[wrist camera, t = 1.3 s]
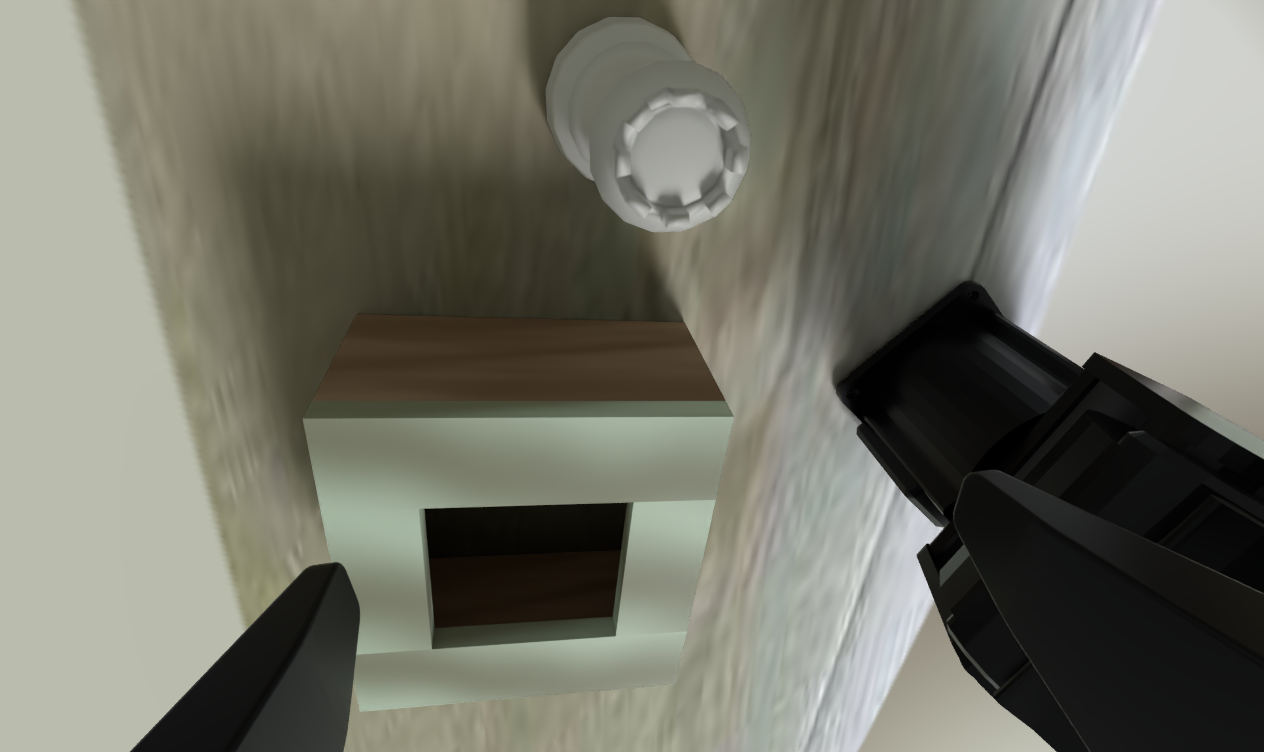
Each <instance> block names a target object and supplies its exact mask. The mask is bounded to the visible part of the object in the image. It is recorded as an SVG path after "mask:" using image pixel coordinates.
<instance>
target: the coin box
mask: <svg viewBox="0 0 1264 752" xmlns="http://www.w3.org/2000/svg"><path fill="white" fill-rule="evenodd" d="M733 419H734V416H733V414H732V412H731V410H730V408H729V406H728V405H727V403H726V401H725V399H724V397H723V395H722V393H721V391H720V389H719V387H718V385H717V383H716V382H715V380H714V378H713V376H712V374H711V372H710V370H709V368H708V366H707V364H706V362H705V361H704V359H703V357H702V355H701V353H700V351H699V349H698V347H697V345H696V343H695V341H694V339H693V338H692V336H691V334H690V332H689V330H688V328H687V326H686V324H685V322H655V321H615V320H574V319H534V318H494V317H453V316H413V315H373V314H357V315H356V316H355V318H354V320H353V322H352V324H351V326H350V328H349V330H348V332H347V334H346V336H345V338H344V340H343V342H342V343H341V345H340V347H339V349H338V351H337V353H336V355H335V357H334V359H333V361H332V363H331V365H330V367H329V369H328V370H327V372H326V374H325V376H324V378H323V380H322V382H321V384H320V386H319V388H318V390H317V392H316V394H315V396H314V397H313V399H312V401H311V403H310V405H309V407H308V409H307V411H306V413H305V415H304V417H303V424H304V429H305V434H306V439H307V444H308V449H309V454H310V459H311V464H312V469H313V475H314V480H315V485H316V490H317V495H318V500H319V505H320V510H321V515H322V520H323V525H324V530H325V536H326V541H327V546H328V551H329V556H330V561H331V563H333V562H339V563H341V564H342V565H343V566H344V567H345V569H346V571H347V574H348V576H349V579H350V581H351V584H352V586H353V589H354V591H355V594H356V596H357V599H358V602H359V606H360V625H359V634H358V643H357V652H356V661H355V670H354V683H355V688H356V693H357V698H358V703H359V708H360V712H363V711H374V710H386V709H397V708H409V707H421V706H432V705H444V704H455V703H467V702H478V701H490V700H501V699H513V698H525V697H536V696H548V695H559V694H571V693H582V692H594V691H605V690H617V689H629V688H640V687H652V686H663V685H675V682H676V678H677V673H678V669H679V664H680V660H681V655H682V651H683V646H684V642H685V637H686V632H687V628H688V623H689V619H690V614H691V610H692V605H693V601H694V596H695V591H696V587H697V582H698V578H699V573H700V569H701V564H702V560H703V555H704V551H705V546H706V541H707V537H708V532H709V528H710V523H711V519H712V514H713V510H714V505H715V501H716V496H717V491H718V487H719V482H720V478H721V473H722V469H723V464H724V460H725V455H726V451H727V446H728V441H729V437H730V432H731V428H732V423H733ZM626 502H627V508H626V516H625V524H624V532H623V540H622V547H621V550H613V551H590V552H568V553H546V554H523V555H501V556H478V557H456V558H433V559H429V557H428V546H427V534H426V523H425V511H424V509H427V508H460V507H494V506H527V505H560V504H593V503H626Z"/></svg>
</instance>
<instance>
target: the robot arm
mask: <svg viewBox="0 0 1264 752" xmlns="http://www.w3.org/2000/svg"><path fill="white" fill-rule="evenodd" d="M970 292H972V294H971V295H970V297H969V298H967V299H966V297H967V295H968V294H969V293H970ZM1082 367H1083V368H1084V369H1083V368H1081V367H1080V366H1078V365H1077V364H1075V363H1074V362H1072V361H1071V360H1069V359H1068V358H1066V357H1064V356H1063V355H1061V354H1060V353H1058V352H1057V351H1055V350H1054V349H1052V348H1050V347H1049V346H1047V345H1046V344H1044V343H1043V342H1041V341H1040V340H1038V339H1037V338H1035V337H1033V336H1032V335H1030V334H1029V333H1027V332H1026V331H1024V330H1023V329H1021V328H1020V327H1018V326H1016V325H1015V324H1013V323H1012V322H1010V321H1009V320H1007V319H1006V318H1004V316H1003V315H1002V313H1001V312H1000V310H999V309H998V307H997V306H996V305H995V303H994V302H993V300H992V299H991V297H990V296H989V294H988V293H987V291H986V290H985V288H984V287H982V286H981V285H980V284H978V283H976V282H975V281H965V282H963V283H962V284H960V285H959V286H958V287H956V288H955V289H954V290H953V291H952V292H950V293H949V294H948V295H947V296H945V297H944V298H943V299H942V300H941V301H939V302H938V303H937V304H936V305H934V306H933V307H932V308H931V309H930V310H928V311H927V312H926V313H925V314H923V315H922V316H921V317H920V318H919V319H917V320H916V321H915V322H914V323H912V324H911V325H910V326H909V327H908V328H906V329H905V330H904V331H903V332H901V333H900V334H899V335H898V336H897V337H895V338H894V339H893V340H892V341H890V342H889V343H888V344H887V345H886V346H884V347H883V348H882V349H881V350H879V351H878V352H877V353H876V354H875V355H873V356H872V357H871V358H870V359H868V360H867V361H866V362H865V363H864V364H862V365H861V366H860V367H859V368H857V369H856V370H855V371H854V372H853V373H851V374H850V375H849V376H848V377H846V378H845V379H844V380H843V381H842V382H841V383H840V384H839V385H838V387H837V389H836V394H837V396H838V397H839V399H840V400H841V401H842V402H843V403H844V404H845V405H846V406H847V407H848V408H849V409H850V410H851V411H852V412H853V413H854V414H855V415H856V416H857V418H858V419H859V420H860V421H861V422H862V424H861V425H859V426H858V427H857V435H858V437H859V438H860V439H861V440H862V442H863V443H864V444H865V446H866V447H867V448H868V449H869V451H870V452H871V453H872V454H873V456H874V457H875V458H876V460H877V461H878V462H879V463H880V465H881V466H882V467H883V468H884V470H885V471H886V472H887V474H888V475H889V476H890V477H891V479H892V480H893V481H894V482H895V484H896V485H897V486H898V488H899V489H900V490H901V491H902V493H903V494H904V495H905V496H906V497H907V498H908V499H909V500H910V501H911V502H912V503H913V504H914V505H915V506H916V507H917V508H918V509H919V510H920V511H921V512H922V513H923V514H924V515H925V516H926V517H927V518H928V519H929V520H930V521H931V522H932V523H933V524H934V525H935V526H938V527H944V529H943V530H942V531H941V532H940V533H939V534H938V536H937V537H936V538H935V539H934V540H933V541H932V542H931V543H930V544H926V545H925V546H924V547H923V548H922V549H921V550H920V552H919V553H918V554H917V558H918V561H919V563H920V566H921V568H922V571H923V573H924V576H925V578H926V581H927V583H928V586H929V588H930V591H931V593H932V596H933V598H934V601H935V603H936V606H937V608H938V611H939V613H940V615H941V618H942V621H943V623H944V626H945V628H946V631H947V633H948V636H949V638H950V641H951V643H952V645H953V647H954V649H955V651H956V653H957V655H958V657H959V659H960V661H961V663H962V665H963V667H964V669H965V670H966V671H967V672H968V673H969V674H970V675H971V676H973V677H974V678H975V679H976V680H977V682H978V683H979V684H980V685H981V686H982V687H983V688H984V689H985V690H986V691H987V692H988V693H989V694H990V695H991V696H992V697H993V698H994V699H995V700H996V701H997V702H998V703H999V704H1000V705H1001V706H1003V707H1004V708H1005V709H1006V710H1008V711H1009V712H1010V713H1012V714H1013V715H1014V716H1016V717H1017V718H1018V719H1019V720H1021V721H1022V722H1023V723H1025V724H1026V725H1027V726H1029V727H1030V728H1031V729H1033V730H1034V731H1035V732H1036V733H1037V734H1038V735H1039V736H1040V737H1041V738H1042V739H1043V740H1045V741H1046V742H1047V743H1048V744H1049V745H1050V746H1051V747H1052V748H1053V749H1054V750H1055V751H1056V752H1264V440H1263V439H1261V438H1259V437H1258V436H1256V435H1254V434H1253V433H1251V432H1249V431H1247V430H1246V429H1244V428H1242V427H1240V426H1239V425H1237V424H1235V423H1233V422H1232V421H1230V420H1228V419H1226V418H1224V417H1223V416H1221V415H1219V414H1217V413H1216V412H1214V411H1212V410H1210V409H1209V408H1207V407H1205V406H1203V405H1202V404H1200V403H1198V402H1196V401H1194V400H1193V399H1191V398H1189V397H1187V396H1185V395H1183V394H1181V393H1179V392H1177V391H1175V390H1173V389H1171V388H1169V387H1167V386H1165V385H1163V384H1160V383H1158V382H1156V381H1154V380H1152V379H1150V378H1148V377H1146V376H1143V375H1141V374H1140V373H1137V372H1135V371H1133V370H1131V369H1129V368H1127V367H1125V366H1123V365H1121V364H1119V363H1117V362H1114V361H1112V360H1110V359H1108V358H1106V357H1104V356H1102V355H1100V354H1098V353H1096V352H1094V353H1093V354H1092V356H1091V357H1090V358H1089V359H1088V360H1087V361H1086V362H1085V364H1084V365H1083V366H1082ZM851 389H854V390H853V391H852V392H851V393H849V394H847V392H848V391H849V390H851ZM359 625H360V606H359V602H358V599H357V596H356V594H355V591H354V589H353V586H352V584H351V581H350V579H349V576H348V574H347V571H346V569H345V567H344V566H343V565H342V564H341V563H339V562H333V563H325V564H318V565H312V566H309V567H308V568H306V569H305V570H304V571H303V572H302V573H301V574H300V575H299V576H298V577H297V578H296V579H295V580H294V581H293V582H292V583H291V584H290V585H289V586H288V587H287V588H286V589H285V590H284V591H283V592H282V593H281V595H280V596H279V597H278V598H277V599H276V600H275V601H274V602H273V603H272V604H271V605H270V606H269V607H268V608H267V609H266V610H265V611H264V612H263V613H262V614H261V615H260V616H259V617H258V619H257V620H256V621H255V622H254V623H253V624H252V625H251V626H250V627H249V628H248V629H247V630H246V631H245V632H244V633H243V634H242V635H241V636H240V637H239V638H238V639H237V640H236V642H235V643H234V644H233V645H232V646H231V647H230V648H229V649H228V650H227V651H226V652H225V653H224V654H223V655H222V656H221V657H220V658H219V659H218V660H217V661H216V662H215V663H214V664H213V666H212V667H211V668H210V669H209V670H208V671H207V672H206V673H205V674H204V675H203V676H202V677H201V678H200V679H199V680H198V681H197V682H196V683H195V684H194V685H193V686H192V687H191V688H190V690H189V691H188V692H187V693H186V694H185V695H184V696H183V697H182V698H181V699H180V700H179V701H178V702H177V703H176V704H175V705H174V706H173V707H172V708H171V709H170V710H169V712H168V713H167V714H166V715H165V716H164V717H163V718H162V719H161V720H160V721H159V722H158V723H157V724H156V725H155V726H154V727H153V728H152V729H151V730H150V731H149V733H147V734H146V735H145V736H144V738H143V739H142V740H141V741H140V742H139V743H138V744H137V745H136V746H135V747H134V748H133V749H132V750H131V751H130V752H343V751H344V746H345V741H346V736H347V730H348V722H349V715H350V706H351V697H352V688H353V679H354V670H355V661H356V652H357V643H358V634H359Z"/></svg>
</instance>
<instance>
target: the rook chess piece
mask: <svg viewBox="0 0 1264 752" xmlns="http://www.w3.org/2000/svg"><path fill="white" fill-rule="evenodd" d="M546 108H547V123H548V125H549V128H550V130H551V132H552V134H553V137H554V139H555V141H556V143H557V146H558V148H559V150H560V152H561V153H562V154H563V155H564V157H565V158H566V159H567V160H568V161H569V162H570V163H571V164H572V165H573V166H574V167H575V168H576V169H577V170H578V171H579V172H580V173H581V174H582V175H583V176H584V177H585V178H587V179H590V180H592V181H595V183H596V186H597V188H598V190H599V193H600V195H601V197H602V200H603V201H604V202H605V203H606V204H607V205H608V206H609V207H610V208H611V209H612V210H613V211H614V212H615V213H616V214H617V215H618V216H619V217H620V218H621V219H622V220H623V221H625V222H627V223H629V224H632V225H635V226H637V227H640V228H642V229H645V230H648V231H650V232H676V231H684V230H687V229H689V228H691V227H693V226H696V225H698V224H700V223H702V222H705V221H707V220H709V219H711V218H712V217H714V218H715V217H716V216H717V215H718V214H719V213H720V212H721V211H722V210H723V209H724V208H725V207H726V206H727V205H728V204H729V203H730V202H731V201H732V200H733V197H734V194H735V192H736V190H737V188H738V186H739V184H740V182H741V180H742V178H743V176H744V175H745V174H746V170H747V168H748V161H749V152H750V142H751V130H750V127H749V123H748V119H747V116H746V112H745V108H744V105H743V101H742V100H741V99H740V97H739V96H738V95H737V94H736V92H735V91H734V90H733V89H732V87H731V86H730V85H729V84H728V82H727V81H726V80H725V79H724V77H723V76H722V75H720V74H718V73H716V72H714V71H712V70H710V69H708V68H706V67H704V66H702V65H700V64H698V63H696V62H695V61H694V60H693V58H692V57H691V56H690V55H689V54H688V52H687V51H686V50H685V49H684V47H683V46H682V45H681V44H680V42H679V41H678V40H677V39H676V37H675V36H674V35H672V34H670V33H669V32H668V31H666V30H664V29H662V28H660V27H658V26H656V25H654V24H652V23H650V22H648V21H646V20H644V19H642V18H640V17H607V18H605V19H603V20H600V21H598V22H596V23H594V24H592V25H590V26H588V27H586V28H583V29H581V30H579V31H578V32H577V33H576V34H575V35H574V36H573V38H572V39H571V40H570V41H569V42H568V43H567V45H566V46H565V47H564V48H563V49H562V50H561V52H560V53H559V54H558V55H557V56H556V59H555V62H554V65H553V68H552V71H551V74H550V77H549V80H548V83H547V86H546Z"/></svg>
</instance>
